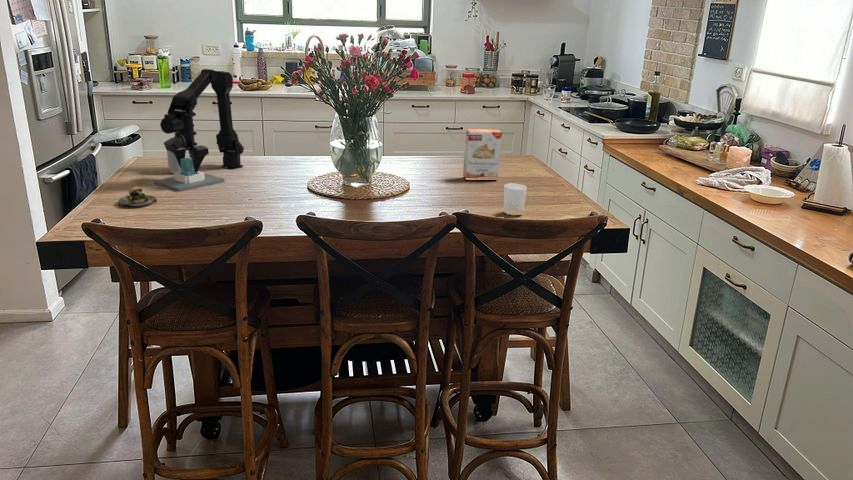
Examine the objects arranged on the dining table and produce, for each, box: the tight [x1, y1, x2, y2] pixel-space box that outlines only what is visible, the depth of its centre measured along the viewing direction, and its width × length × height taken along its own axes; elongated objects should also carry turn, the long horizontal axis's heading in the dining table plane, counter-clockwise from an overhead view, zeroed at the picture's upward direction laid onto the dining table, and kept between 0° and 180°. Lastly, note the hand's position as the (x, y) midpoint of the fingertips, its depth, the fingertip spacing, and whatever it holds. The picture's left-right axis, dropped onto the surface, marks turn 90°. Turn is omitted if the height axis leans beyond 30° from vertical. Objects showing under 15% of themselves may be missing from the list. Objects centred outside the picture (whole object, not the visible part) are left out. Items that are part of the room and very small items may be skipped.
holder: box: [153, 170, 226, 193], centre depth 253 cm, size 20×16×4 cm
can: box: [166, 150, 188, 175], centre depth 265 cm, size 8×8×12 cm
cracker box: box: [462, 128, 503, 178], centre depth 275 cm, size 14×6×21 cm, turn 99°
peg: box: [180, 157, 197, 176], centre depth 252 cm, size 4×4×8 cm
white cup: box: [503, 183, 528, 211], centre depth 233 cm, size 8×8×10 cm
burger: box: [118, 183, 157, 209], centre depth 226 cm, size 12×12×8 cm
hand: (188, 170), depth 252 cm, fingers open, 9 cm apart
